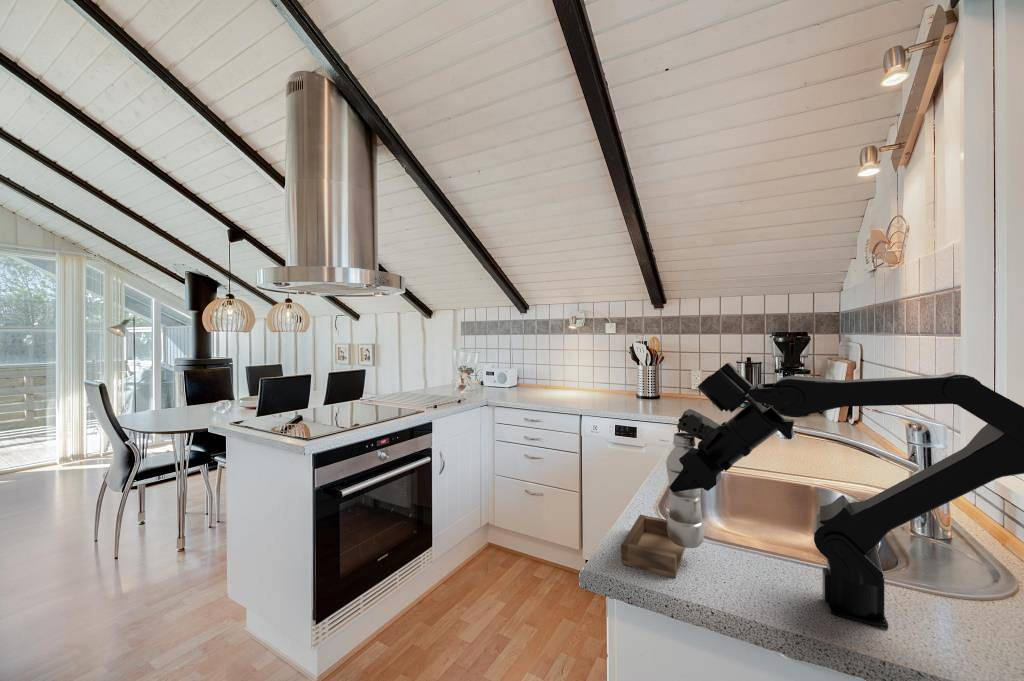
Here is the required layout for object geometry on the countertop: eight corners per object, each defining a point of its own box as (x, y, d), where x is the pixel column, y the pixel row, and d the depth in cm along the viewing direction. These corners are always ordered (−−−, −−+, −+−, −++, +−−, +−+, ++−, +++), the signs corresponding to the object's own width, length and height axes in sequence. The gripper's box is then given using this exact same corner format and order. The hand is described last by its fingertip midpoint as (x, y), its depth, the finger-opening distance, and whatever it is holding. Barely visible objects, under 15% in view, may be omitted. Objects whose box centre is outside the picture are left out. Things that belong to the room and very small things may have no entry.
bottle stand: (687, 541, 84) (687, 523, 84) (675, 578, 71) (675, 557, 71) (640, 531, 88) (640, 514, 88) (621, 564, 76) (621, 544, 76)
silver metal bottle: (669, 551, 74) (667, 438, 74) (664, 533, 81) (663, 430, 81) (708, 554, 73) (707, 440, 73) (700, 536, 80) (699, 431, 79)
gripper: (718, 390, 82) (662, 439, 89) (691, 403, 67) (626, 460, 74) (766, 436, 77) (702, 483, 84) (748, 461, 62) (673, 516, 69)
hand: (676, 484), depth 78 cm, fingers closed on silver metal bottle, 6 cm apart
